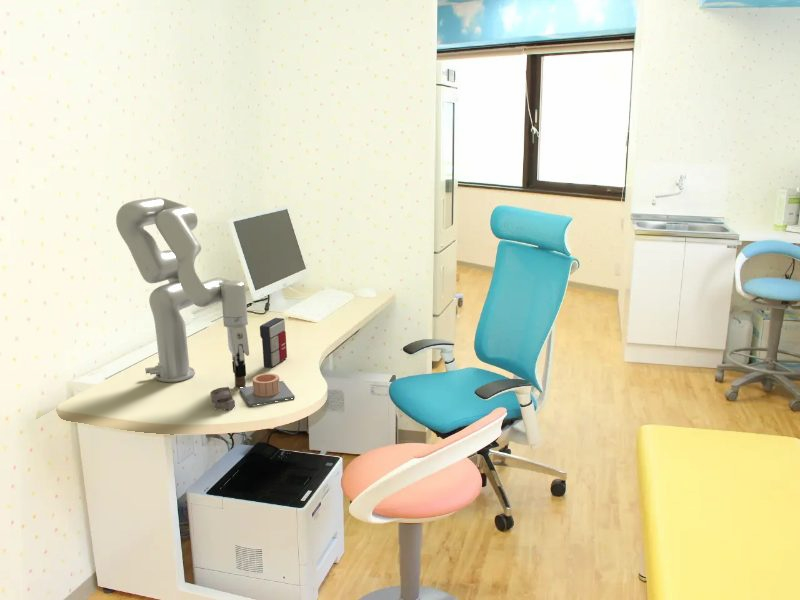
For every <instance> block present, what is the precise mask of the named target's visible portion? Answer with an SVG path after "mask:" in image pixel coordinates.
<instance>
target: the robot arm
mask: <svg viewBox="0 0 800 600" xmlns="http://www.w3.org/2000/svg"><path fill="white" fill-rule="evenodd" d="M115 222H116V227H117V231H118V232H119V235H120V237H121V239H123V241H124V242H125V244H126V246H127V248H128V249H129V251H130V254H131V256H132V258H133V260H134V262H135V263H134V264H135V265H136V266H137V269H138V271H139V272H140V275H141V277H142V279H143V280H144V281H145V282H146V283H149V284H157V283H161V282H164V281H168V283H165V284H163V285H160V286H158V287H156V288H155V289H153V290H152V292H151V293H150V295H149V301H148V302H149V306H150V307H149V308H150V309H151V312H152V316H153V321H154V327H155V334H156V336H155V337H156V344H157V352H158V353H157V354H158V355H157V356H158V362H157V364H156V365H154V366H152V367H144V368H145V369H144V370H145V374H149V375H150V376H152V375H155V379H156V380H157V381H159V382H164V383H175V382H176V383H178V382H183V381H185V380H189V379H191V378H192V377H194V375H195V374H196V372H195V371H196V370H195V368H193V367H190V359H189V351H188V349H189V348H188V339H187V329H186V323H185V320H184V317H182V314H181V313H180V311H182V310H183V309H185V308H189V307H191V306H193V305H194V306H195V307H199V308H206V307H210V306H212V305H214V304H216V303H219V302H220V303H221V305H222V320H223V321H222V322H223V327H225V328H226V329H227V330H226V331H227V343H228V344H227V346H228V350H229V351H230V352H229V353H231V360H232V373H234V361H233V356H234V357H235V360H236V365H235V372H236V377H244V376H245V377H246V376H247V367H246V359H245V355H246V356H247V357H249V355H250V347H249V339H248V331H247V326H248V323H249V319H248V318H249V317H248V307H247V293H246V292H247V291H246V285H245V283H244V282H243V281H241V280H229V279H227V278H222V277H215V278H212V279H209V280H205V281H201V278H199V276H198V274H197V272H196V268H195V261H196V258H197V256H198V255H199V254H200V252H201V250H202V245H201V244H200V242H199V241H198V239H197V237H195V234H194V233H193V231H194V230H195V228H197V225H198V222H199V221H198V216H197V213H196V212H195V211H194V210H193V209H192V208H191V207H189V206H187V205H184V204H182V203H179V202H176V201H173V200H170V199H167V198H164V197H160V196H159V197H150V198H144V199H138V200H136V199H135V200H131V201H129V202H126V203H125V204H123V205H122V206H121V207H119V209H118V210H117V214H116V218H115ZM153 225H155V226H156V228H157V230H158V232H159V233H160V235H161V237H162V238H163V240H164V241H165V243H166V244H167V246H168V247H169V249H167V250H162V251H161V250H160V248H159V246H158V244H157V241H156V240H155V238H154V237H153V235H152V234H150V233H149V232H148V231H147V230H146V229H145V227H146V226H153ZM237 354H239V356H237ZM238 358H239V359H238Z"/></svg>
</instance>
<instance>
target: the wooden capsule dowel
mask: <svg viewBox="0 0 800 600" xmlns="http://www.w3.org/2000/svg"><path fill="white" fill-rule="evenodd" d="M237 356H239V354H237ZM238 359H239V358H238ZM232 361H234V372H233V374H234V383H235V384H234V385H235V388H236V387H238V388H237V389H240V387H244V386H245V385H246V376H244V377H236V372H235V365H236V360H235V357H234V356H233V360H232ZM245 387H246V386H245Z"/></svg>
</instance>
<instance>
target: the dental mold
mask: <svg viewBox="0 0 800 600" xmlns="http://www.w3.org/2000/svg"><path fill="white" fill-rule="evenodd" d="M210 399H211V401H210V402H211V403H212V404H213V407H214V408H213V409H215V408H216V409H217V410H219V409H223V410H222V411H225V410H224V409H228V410H227V411H229V410H230V411H233V410H234V409H235V408H236V403H235V399H233V395H232V391H231V387H229V386H227V387H225V386H224V387H218V388H215V389H213V390H211V391H210ZM234 407H235V408H234ZM233 408H234V409H233ZM216 409H215V410H216ZM232 409H233V410H232Z"/></svg>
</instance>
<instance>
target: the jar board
mask: <svg viewBox="0 0 800 600" xmlns="http://www.w3.org/2000/svg"><path fill="white" fill-rule="evenodd" d="M239 391H241V392H240V393H241V394H243V395H242V396H244V397H243V398H244V400H245V399H246V400H245V402H246V403H247V402H248V403H247V405H248V404H249V405H248V406H249V407H250V406H252V407H254V406H253V405H257V404H263V405H265V404H264V403H269V404H271V403H270V402H274V403H276V402H275V401H280V402H282V401H281V400H285V399H291V398H295V399H296V396H295V394H294V393H293V392H292V391H291V390H290V388H289V387H288V386H287V384H286V383H285V382H284V380H280V376H279V375H278V374H275V373H268V372H267V373H260V374H258V375H257V374H256V375H255V376H254V377H253V378H252V385H250V386H245V387H243V388H239ZM291 400H292V399H291ZM257 406H258V405H257Z"/></svg>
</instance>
